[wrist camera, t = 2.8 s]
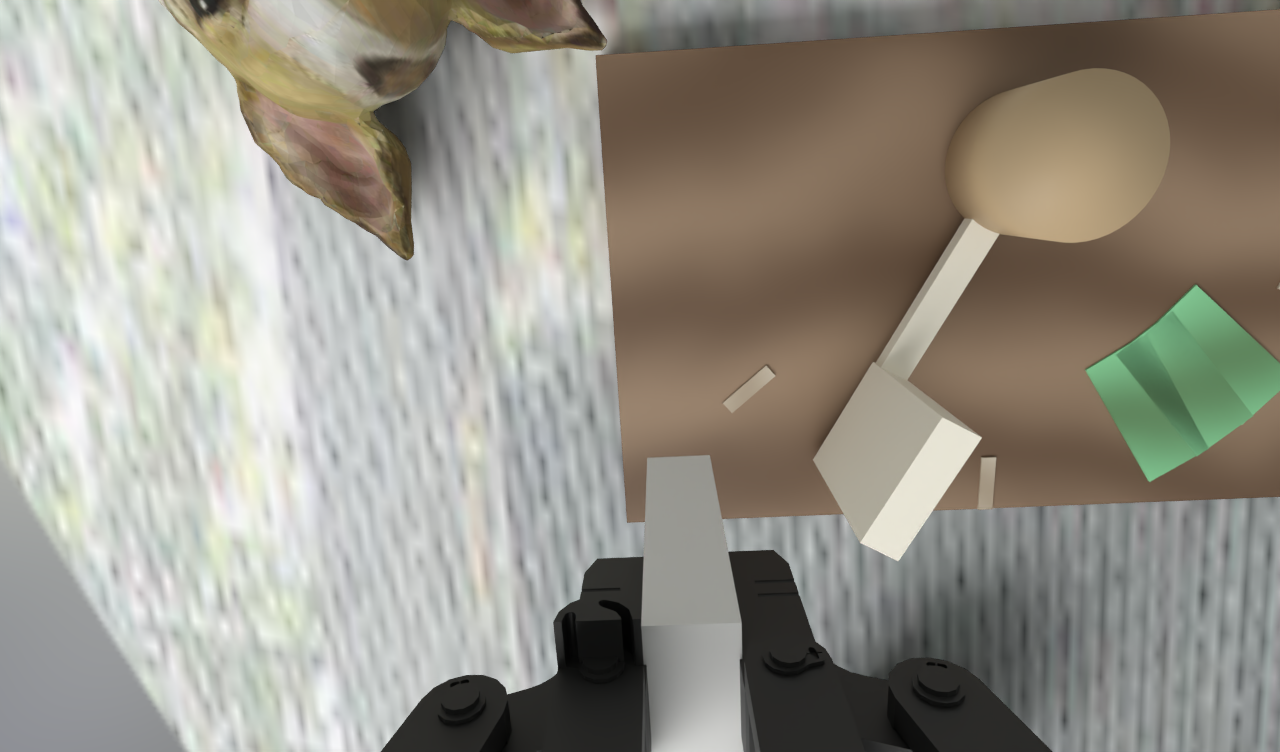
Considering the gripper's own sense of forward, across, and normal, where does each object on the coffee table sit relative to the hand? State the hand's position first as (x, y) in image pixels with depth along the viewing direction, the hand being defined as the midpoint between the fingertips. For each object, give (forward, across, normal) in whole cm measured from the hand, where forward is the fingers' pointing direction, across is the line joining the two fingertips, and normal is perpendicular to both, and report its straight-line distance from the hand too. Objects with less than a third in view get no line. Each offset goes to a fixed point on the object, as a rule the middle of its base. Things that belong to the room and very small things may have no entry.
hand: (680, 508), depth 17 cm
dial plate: (+10, -11, -4) cm, 15 cm away
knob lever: (+8, -9, -4) cm, 12 cm away
